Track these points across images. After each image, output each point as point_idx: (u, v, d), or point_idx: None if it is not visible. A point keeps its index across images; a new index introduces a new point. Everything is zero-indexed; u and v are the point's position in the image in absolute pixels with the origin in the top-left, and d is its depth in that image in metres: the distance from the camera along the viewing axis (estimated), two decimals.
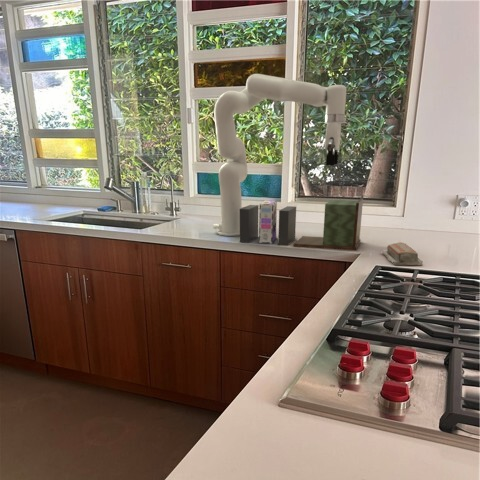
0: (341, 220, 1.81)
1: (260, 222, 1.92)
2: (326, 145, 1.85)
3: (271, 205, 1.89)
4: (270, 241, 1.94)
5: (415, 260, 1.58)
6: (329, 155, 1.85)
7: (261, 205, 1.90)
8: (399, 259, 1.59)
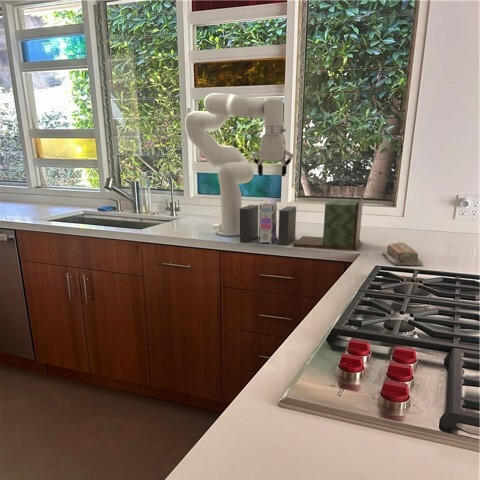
0: (341, 220, 1.81)
1: (260, 222, 1.92)
2: None
3: (271, 205, 1.89)
4: (270, 241, 1.94)
5: (415, 260, 1.58)
6: None
7: (261, 205, 1.90)
8: (399, 259, 1.59)
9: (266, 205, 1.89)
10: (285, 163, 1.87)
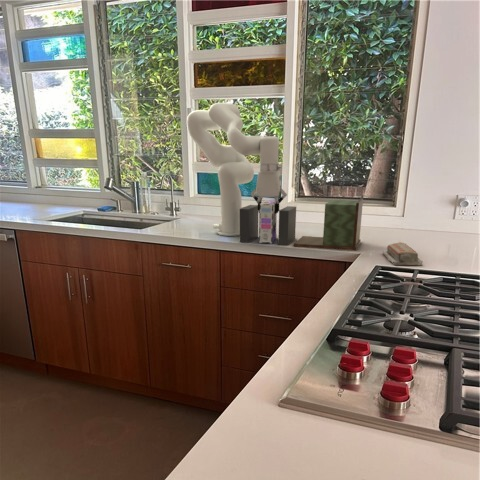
0: (341, 220, 1.81)
1: (260, 222, 1.92)
2: None
3: (271, 205, 1.89)
4: (270, 241, 1.94)
5: (415, 260, 1.58)
6: None
7: (261, 205, 1.90)
8: (399, 259, 1.59)
9: (266, 205, 1.89)
10: (278, 201, 1.92)
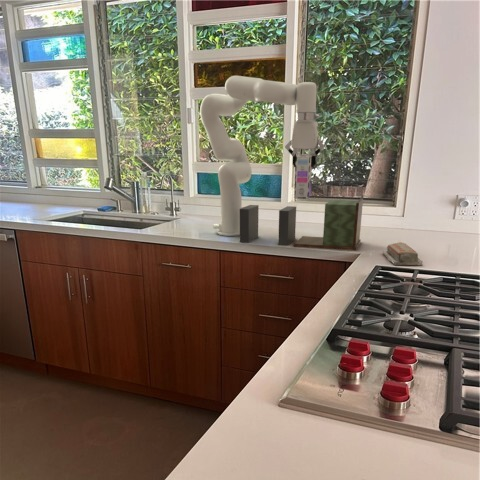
0: (341, 220, 1.81)
1: (296, 175, 1.81)
2: None
3: (308, 156, 1.78)
4: (306, 196, 1.83)
5: (415, 260, 1.58)
6: None
7: (297, 157, 1.78)
8: (399, 259, 1.59)
9: (303, 156, 1.78)
10: (315, 153, 1.81)
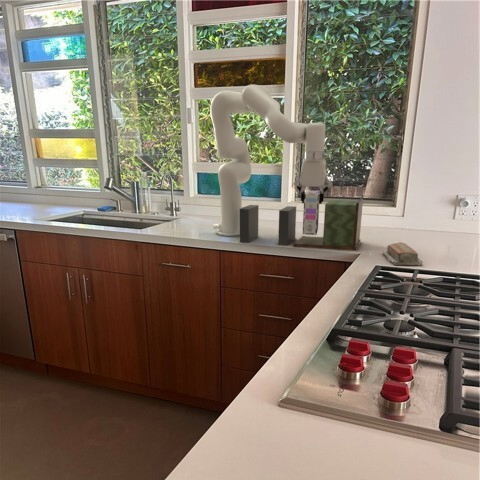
0: (341, 220, 1.81)
1: (304, 212, 1.85)
2: None
3: (317, 195, 1.81)
4: (314, 232, 1.87)
5: (415, 260, 1.58)
6: None
7: (306, 195, 1.82)
8: (399, 259, 1.59)
9: (311, 195, 1.82)
10: (323, 191, 1.85)
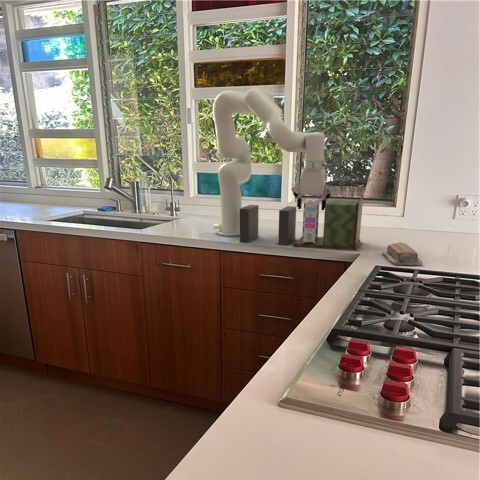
0: (341, 220, 1.81)
1: (304, 221, 1.86)
2: None
3: (316, 204, 1.83)
4: (314, 241, 1.88)
5: (415, 260, 1.58)
6: None
7: (306, 204, 1.83)
8: (399, 259, 1.59)
9: (311, 204, 1.83)
10: (325, 197, 1.86)
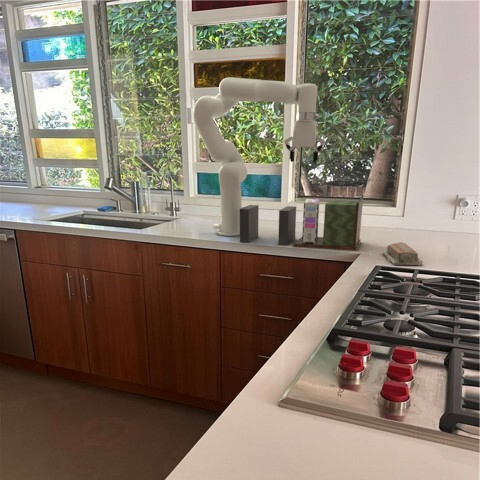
0: (341, 220, 1.81)
1: (304, 221, 1.86)
2: None
3: (316, 204, 1.83)
4: (314, 241, 1.88)
5: (415, 260, 1.58)
6: None
7: (306, 204, 1.83)
8: (399, 259, 1.59)
9: (311, 204, 1.83)
10: (317, 149, 1.90)
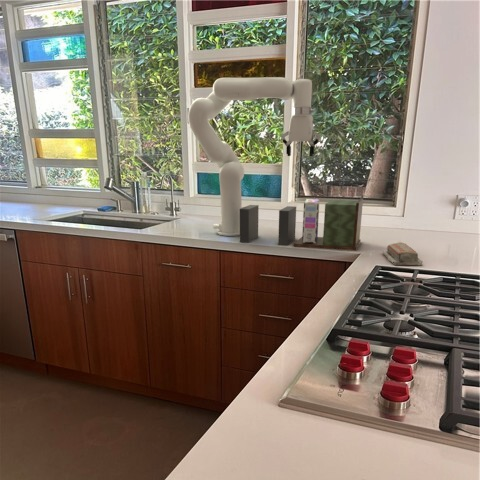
0: (341, 220, 1.81)
1: (304, 221, 1.86)
2: None
3: (316, 204, 1.83)
4: (314, 241, 1.88)
5: (415, 260, 1.58)
6: None
7: (306, 204, 1.83)
8: (399, 259, 1.59)
9: (311, 204, 1.83)
10: (313, 143, 1.94)
